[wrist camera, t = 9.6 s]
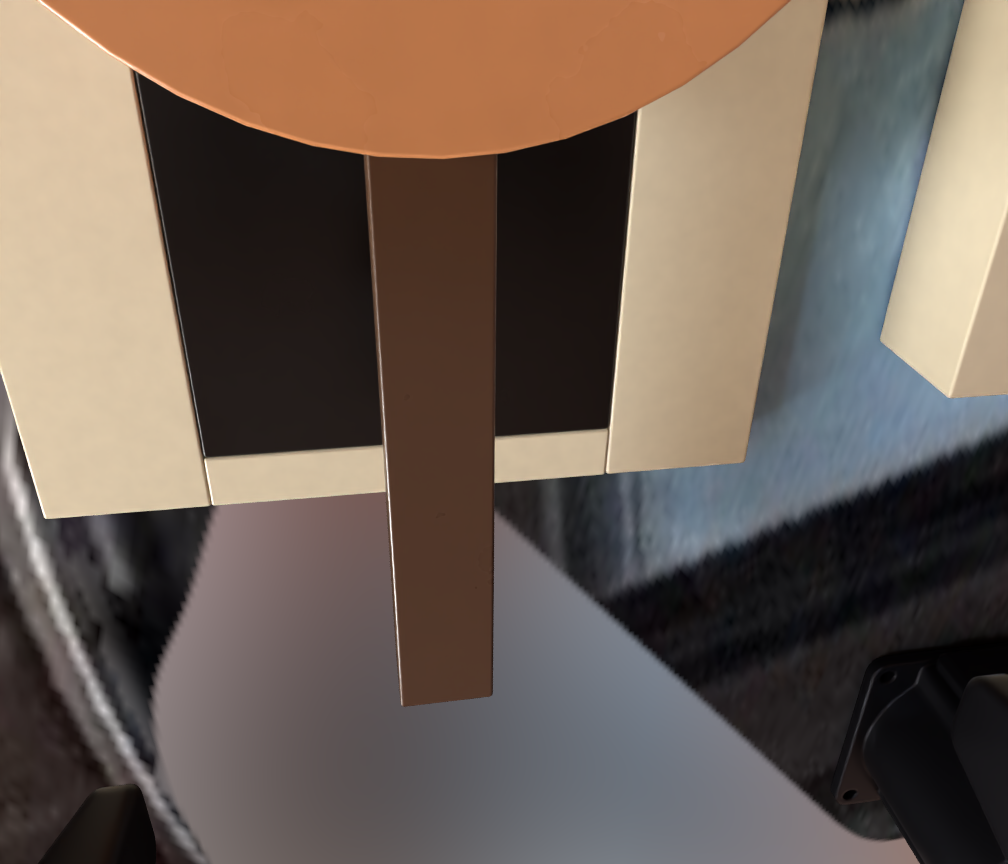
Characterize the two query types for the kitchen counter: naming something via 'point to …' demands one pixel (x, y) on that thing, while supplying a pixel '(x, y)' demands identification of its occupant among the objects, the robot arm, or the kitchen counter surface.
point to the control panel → (961, 224)
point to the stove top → (348, 282)
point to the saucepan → (427, 214)
